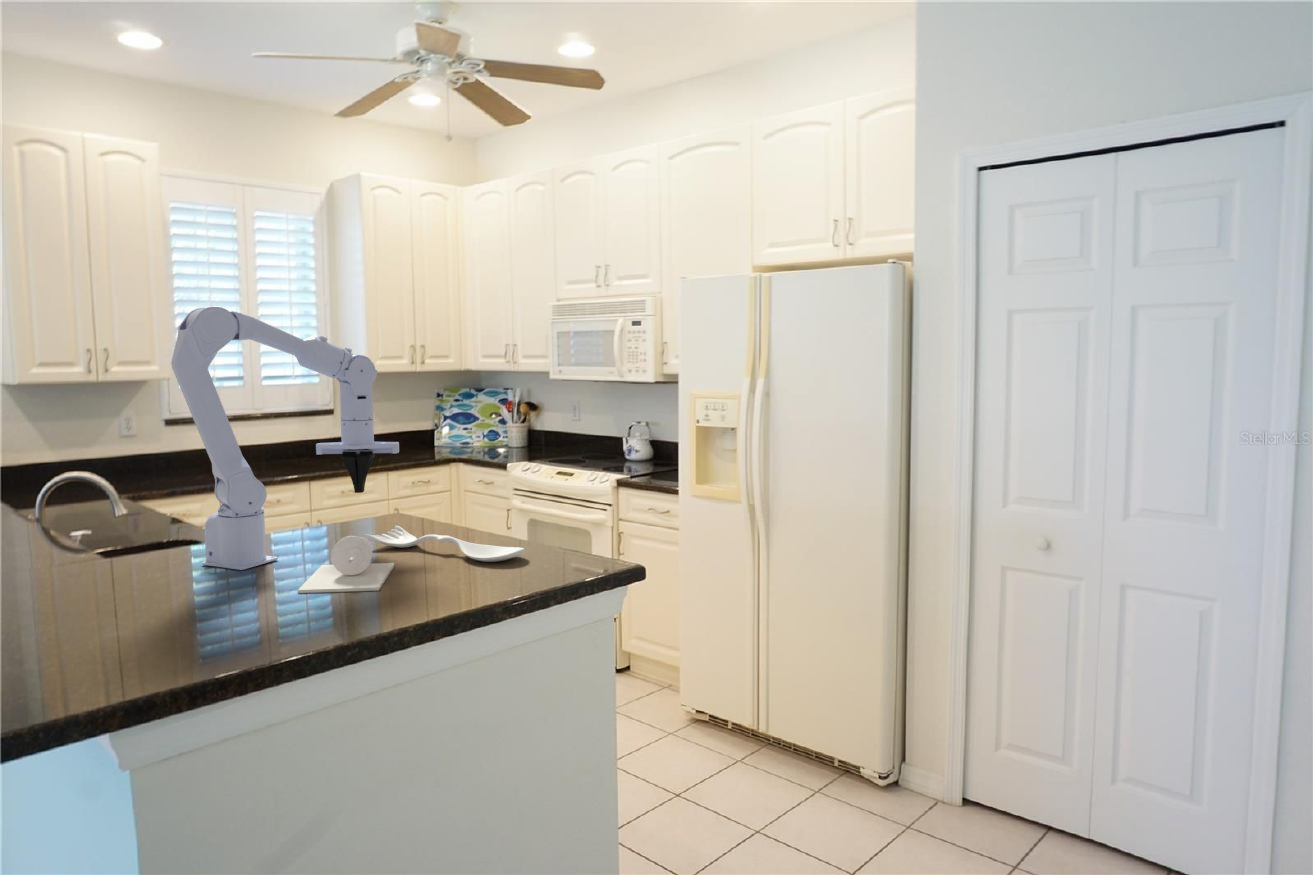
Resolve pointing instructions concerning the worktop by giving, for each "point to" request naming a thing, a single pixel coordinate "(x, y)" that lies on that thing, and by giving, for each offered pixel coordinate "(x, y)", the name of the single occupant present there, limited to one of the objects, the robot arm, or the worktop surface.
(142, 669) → the worktop surface
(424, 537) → the white plastic utensil
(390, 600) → the worktop surface
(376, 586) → the mat
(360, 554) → the smoothie
